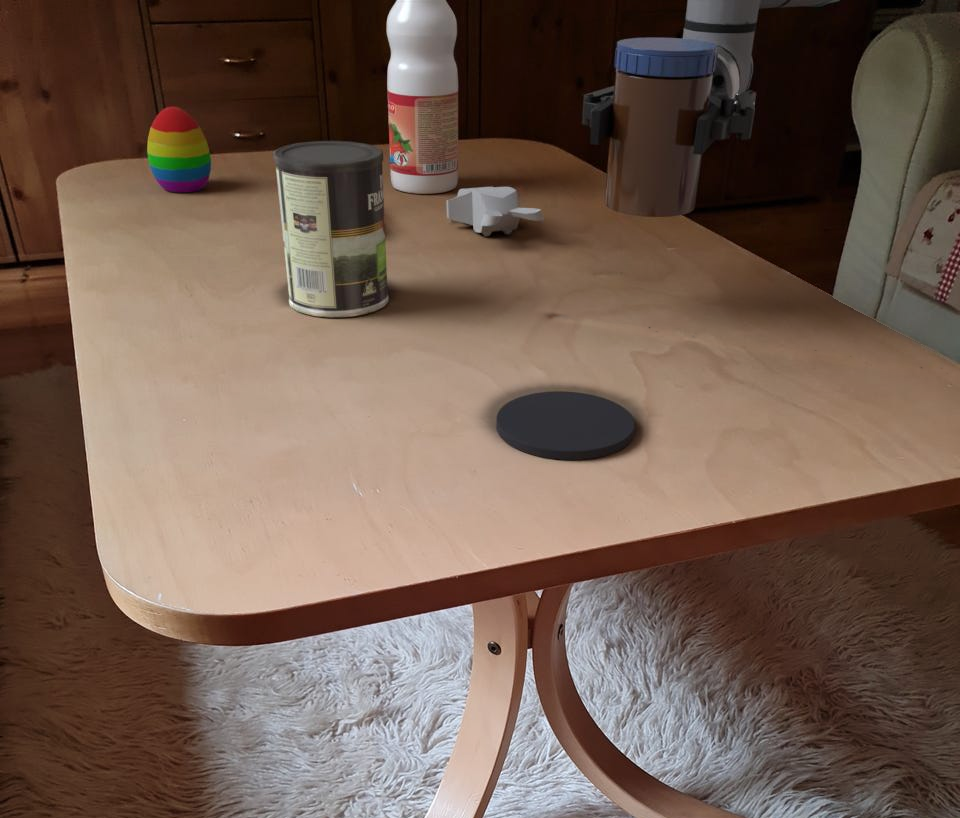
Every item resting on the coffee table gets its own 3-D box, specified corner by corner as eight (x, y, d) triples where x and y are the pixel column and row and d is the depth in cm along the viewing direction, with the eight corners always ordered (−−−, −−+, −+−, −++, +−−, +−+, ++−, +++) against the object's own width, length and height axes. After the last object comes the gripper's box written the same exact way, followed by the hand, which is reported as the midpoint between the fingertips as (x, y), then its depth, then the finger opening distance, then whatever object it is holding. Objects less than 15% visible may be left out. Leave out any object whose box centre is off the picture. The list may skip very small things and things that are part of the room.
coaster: (647, 412, 83) (648, 403, 83) (615, 470, 75) (616, 461, 74) (521, 391, 86) (521, 382, 86) (476, 445, 78) (476, 436, 77)
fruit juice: (451, 197, 137) (450, -53, 120) (383, 193, 138) (373, -55, 121) (463, 180, 144) (464, -57, 127) (399, 177, 146) (392, -59, 129)
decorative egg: (143, 186, 139) (128, 105, 133) (196, 177, 143) (185, 99, 137) (170, 198, 134) (156, 115, 128) (225, 189, 138) (214, 108, 132)
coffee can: (391, 285, 108) (386, 140, 99) (385, 319, 99) (379, 164, 91) (295, 283, 107) (281, 138, 99) (280, 317, 99) (264, 163, 91)
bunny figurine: (503, 178, 129) (553, 192, 117) (504, 221, 132) (553, 239, 120) (434, 184, 126) (477, 198, 114) (436, 228, 129) (478, 246, 117)
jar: (702, 199, 96) (723, 47, 89) (685, 221, 90) (706, 60, 83) (616, 190, 99) (630, 41, 91) (594, 211, 92) (606, 53, 85)
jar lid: (722, 65, 90) (726, 41, 89) (705, 80, 83) (708, 53, 82) (627, 59, 92) (629, 35, 91) (603, 72, 86) (605, 47, 84)
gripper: (794, 140, 103) (763, 191, 86) (593, 123, 109) (527, 167, 92) (809, 56, 99) (780, 92, 82) (599, 42, 104) (531, 74, 87)
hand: (646, 132), depth 87 cm, fingers closed on jar, 8 cm apart
